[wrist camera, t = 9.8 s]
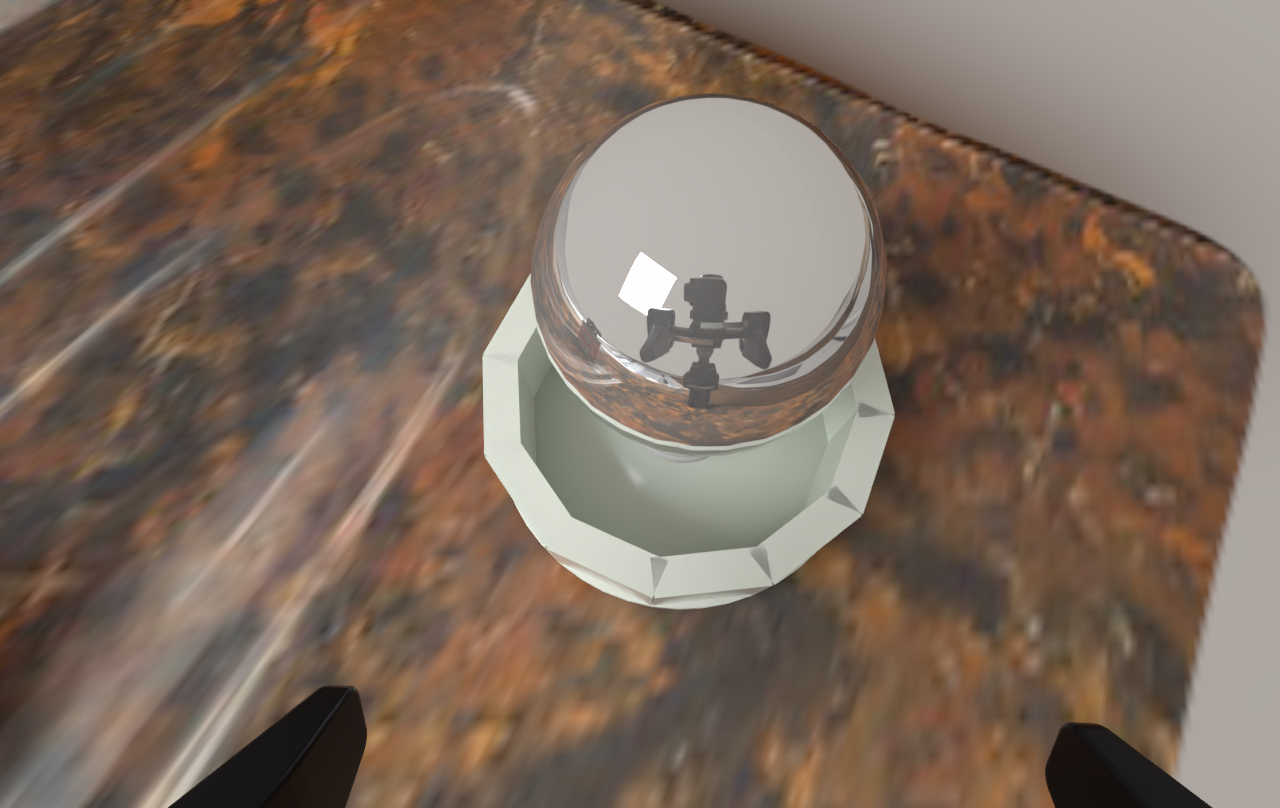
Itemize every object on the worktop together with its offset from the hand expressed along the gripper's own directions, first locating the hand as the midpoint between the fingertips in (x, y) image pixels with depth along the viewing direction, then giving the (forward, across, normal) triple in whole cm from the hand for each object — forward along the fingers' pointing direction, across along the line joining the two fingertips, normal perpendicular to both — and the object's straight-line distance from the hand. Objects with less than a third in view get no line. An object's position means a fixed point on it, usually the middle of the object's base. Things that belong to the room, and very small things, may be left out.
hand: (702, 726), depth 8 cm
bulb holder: (+14, 0, +2) cm, 14 cm away
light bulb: (+13, 0, +2) cm, 13 cm away
